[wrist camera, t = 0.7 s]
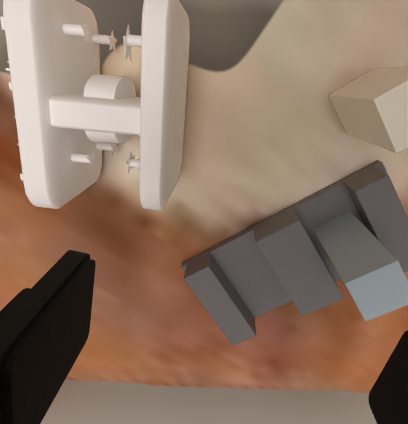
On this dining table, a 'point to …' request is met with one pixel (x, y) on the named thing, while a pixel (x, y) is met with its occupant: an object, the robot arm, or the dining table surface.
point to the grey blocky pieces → (293, 254)
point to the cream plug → (376, 107)
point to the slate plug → (364, 266)
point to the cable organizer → (95, 98)
